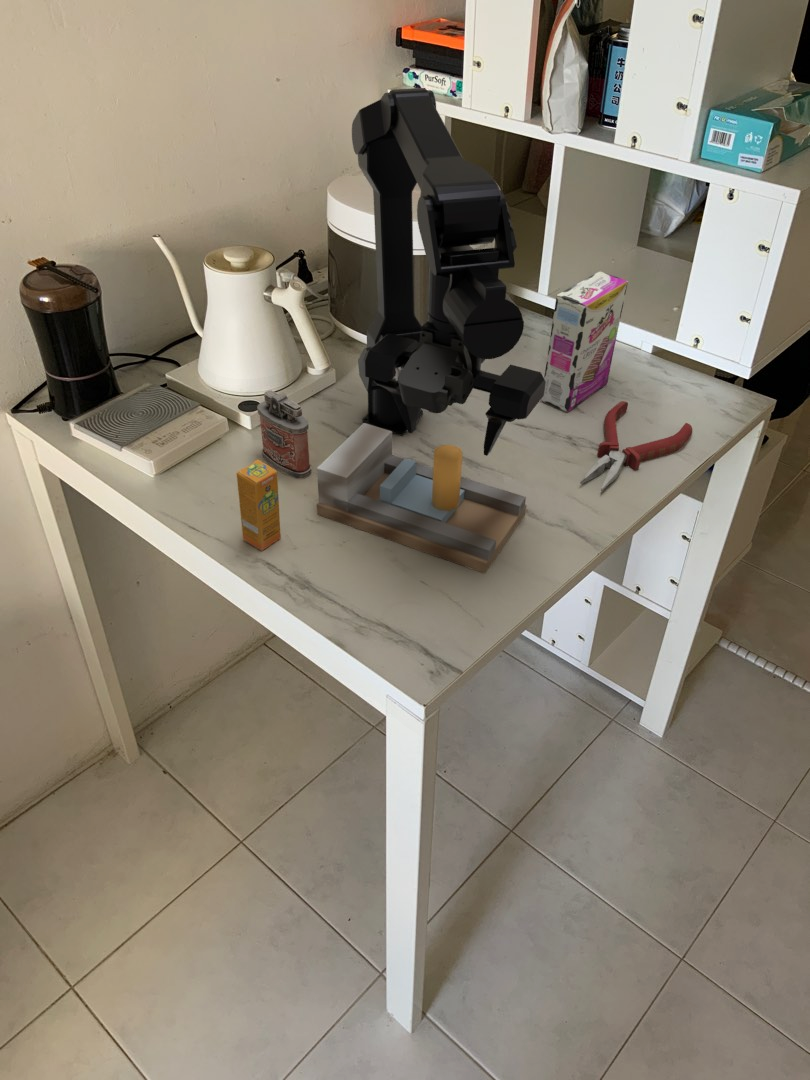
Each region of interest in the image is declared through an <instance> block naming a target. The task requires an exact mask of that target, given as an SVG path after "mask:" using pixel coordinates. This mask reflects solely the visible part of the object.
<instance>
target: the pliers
mask: <svg viewBox="0 0 810 1080" xmlns="http://www.w3.org/2000/svg"><path fill="white" fill-rule="evenodd" d="M628 406H629V403H628V401H624V400H623V401H622V400H621V401H620V402H618V403H616V405H614V406H613V407H612V408H611V409H610V410H608V411H607V413H606V415H605V416H604V420H603V434H604V441H602V442H600V443H599V445H598V449H597V453H596V454H597V458H600V459H598V460H597V461H596V462H595V463H594V465H593V466H592V467H591V468H590V469H589V471H588V472H587V473H586V474H585V476H584V477H583V478H582V479H581V480H580V485H582V484H584V483H586V482H588V481H591V480H592V479H594V478H596V477H599V476H600V475H601V474H603V473H604V472H605V468H608V469H609V471H608V473H607V475H606V477H605V479H604V482H603V484H602V486H601V488H600V492H603V491H604V490H605V489H607V487H608V486H609V485H610V484H611V483H613V482H614V481H615V480H616V479H617V478H618V476H619V474H620V473H621V469H622V468H623V467H625V468H626V467H629V468H630V469H631V470H632V471H634V472H635V471H638V470H639V468H640V464H641V463H642V462H646V461H650V460H654V459H657V458H661V457H664V456H667V455H671V454H674V453H676V452H678V451H680V450H682V449H683V448H684V446H685V445H686V444H687V442H689V440H690V438H691V437H692V435H693V426H692V425H691V423H687V422H685V423H684V424H683V425H682V427H681V428H680V429H679V431H678V432H676V433H675V434H673V435H670V436H667V437H664V438H661V439H657V440H656V439H655V440H654V441H653V440H652V441H650V442H649V441H648V442H646V443H642V444H638V445H634V446H628V447H626V448H623V449H622V451H620V444H619V439H618V438H619V437H618V430H617V423H616V422H618V420H619V419H620V418H622V417H623V416H624V415H625V414H626V413H627V410H628Z"/></svg>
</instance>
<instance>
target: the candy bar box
mask: <svg viewBox="0 0 810 1080" xmlns="http://www.w3.org/2000/svg"><path fill="white" fill-rule="evenodd" d="M628 285H629V280H626V279H623V278H621V277H618V276H615V275H612V274H609V273H605V272H603V271H597V272H596V273H594V274H593V275H590V276H589V277H587V278H585V279H584V280H582V281H579V282H578V283H576V284H575V285H572V286H571V287H569V288H567V289H565V290H564V291H562V292H560V293H557V294H556V297H555V303H554V310H553V317H552V323H551V331H550V336H549V343H548V349H547V357H546V362H545V363H546V364H545V369H544V375H543V377H544V379H545V381H546V384H545V392H544V396H543V397H542V399H541V400H540V401H541V402H542V403H543V404H547V405H549V406H551V407H553V408H555V409H558V410H560V411H562V412H565V413H568V412H570V411H571V410H573V409H575V408H576V407H577V406H578V405H580V404H581V403H582V402H584V401H585V400H587V399H588V398H589V397H591V396H592V395H593V394H595V393H596V392H598V391H599V390H601V389H602V388H603V387H604V386H606V385H607V384H608V380H609V375H610V370H611V366H612V360H613V356H614V351H615V350H614V349H615V345H616V341H617V338H618V337H617V336H618V332H619V331H618V330H619V327H620V322H621V318H622V313H623V307H624V304H625V303H624V302H625V299H626V293H627V288H628Z"/></svg>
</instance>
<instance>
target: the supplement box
mask: <svg viewBox="0 0 810 1080" xmlns="http://www.w3.org/2000/svg"><path fill="white" fill-rule="evenodd" d="M278 479H279V478H278V470H277V469H276V468H274V467H273V466H272V467H271V465H269V464H268V463H265V462H263V461H261V460H260V459H256V460H254V461H253V463H251V464H249V465H248V466H245V467H244V468H240V469H238V470H237V471H236V480H237V491H238V500H239V502H238V503H239V512H240V513H239V514H240V520H241V522H240V523H241V530H242V531H241V532H242V539H243V540H244V541H245V542H246V543H248V544H249V545H251V546H253V547H254V548H255V549H258V550H260V551H264V550H266V549H267V548H269V547H271V545H273V544H274V543H276V542H277V541H278V540H280V539H281V519H280V517H281V516H280V505H279V503H280V501H279V484H278V481H279V480H278Z"/></svg>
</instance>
